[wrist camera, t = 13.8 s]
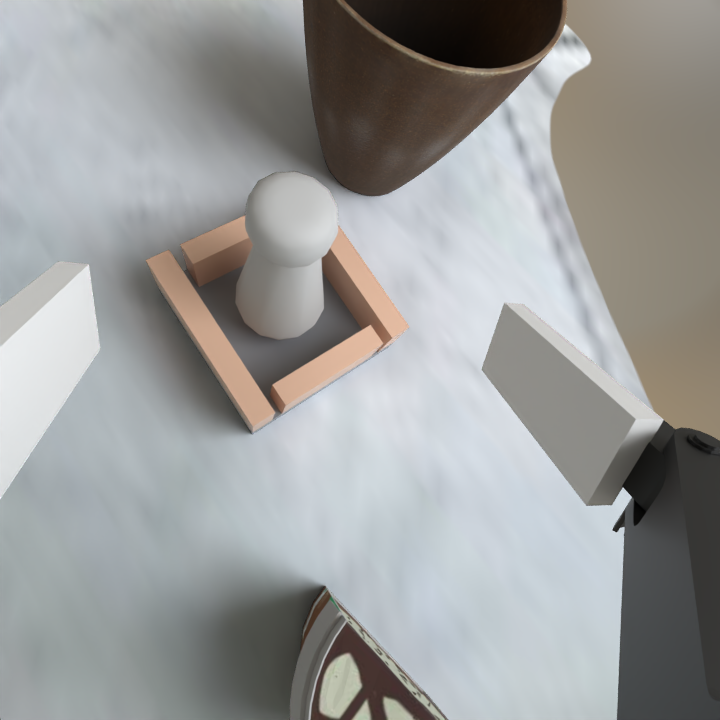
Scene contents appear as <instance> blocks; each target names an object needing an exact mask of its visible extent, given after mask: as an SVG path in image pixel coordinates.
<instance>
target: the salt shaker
mask: <svg viewBox="0 0 720 720" xmlns="http://www.w3.org/2000/svg"><path fill="white" fill-rule="evenodd" d="M245 228H246V232H247V234H248V236H249V238H250V240H251V242H252V244H253V246H252V249H251V251H250V253H249V256H248V258H247V260H246V263H245V265H244V267H243V270H242V272H241V274H240V277H239V279H238V282H237V284H236V300H235V303H236V305H237V307H238V310H239V312H240V314H241V316H242V318H243V320H244V323H246V324H247V325H248V326H249V327H250V328H252V329H253V330H254V331H255V332H257V333H258V334H259V335H261V336H265V337H269V338H272V339H276V340H283V339H290V338H296V337H299V336H300V335H302V334H303V333H305V332H306V331H307V330H309V329H310V328H312V327H313V326H314V325H315V324H316V322H317V320H318V318H319V317H320V315H321V313H322V311H323V309H324V293H323V280H322V259H321V258H322V257H323V256H325V255H326V254H327V252H328V250H329V249H330V247H331V245H332V243H333V242H334V240H335V238H336V236H337V234H338V206H337V204H336V202H335V200H334V198H333V196H332V194H331V192H330V190H329V189H327V188H326V187H325V186H324V185H323V184H321V183H320V182H319V181H318V180H316V179H315V178H314V177H311V176H308V175H305V174H302V173H299V172H296V171H289V172H275V173H273V174H271V175H269V176H267V177H265V178H263V179H261V180H259V181H258V182H257V184H256V185H255V187H254V188H253V190H252V192H251V193H250V195H249V196H248V200H247V203H246V214H245Z"/></svg>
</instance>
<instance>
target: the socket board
mask: <svg viewBox="0 0 720 720" xmlns="http://www.w3.org/2000/svg"><path fill="white" fill-rule="evenodd" d="M180 245H181V249H182V252H183V256H184V259H185V262H186V266H187V269H188V270H186V271H184V272H183V270H182V269H181V267H180V266H179V264H178V263H177V261H176V260H175V258H174V257H173V255H172V254H171V252H170V251H169V250H167V251H165V252H163V253H160V254H158V255H156V256H154V257H151V258H149V259H147V260H146V262H147V264H148V266H149V268H150V271H151V273H152V275H153V277H154V279H155V281H156V283H157V285H158V288H159V290H160V292H161V293H162V295H163V296H164V298H165V299H166V301H167V303H168V304H169V306H170V307H171V309H172V310H173V312H174V313H175V315H176V316H177V318H178V320H179V321H180V323H181V324H182V326H183V327H184V329H185V330H186V332H187V334H188V335H189V337H190V338H191V340H192V341H193V343H194V344H195V346H196V348H197V349H198V351H199V352H200V354H201V355H202V357H203V358H204V360H205V362H206V363H207V365H208V366H209V368H210V369H211V371H212V372H213V374H214V375H215V377H216V379H217V380H218V382H219V383H220V385H221V386H222V388H223V389H224V391H225V393H226V394H227V396H228V397H229V399H230V400H231V402H232V403H233V405H234V407H235V408H236V410H237V411H238V413H239V414H240V416H241V417H242V419H243V420H244V422H245V424H246V425H247V427H248V428H249V430H250V431H251V433H252V434H254V433H255V432H257V431H259V430H260V429H262V428H263V427H265V426H266V425H268V424H269V423H271V422H273V421H274V420H276V419H277V418H279V417H280V416H282V415H283V414H285V413H287V412H288V411H290V410H291V409H293V408H294V407H296V406H297V405H299V404H301V403H302V402H304V401H305V400H307V399H308V398H310V397H311V396H313V395H315V394H316V393H318V392H319V391H321V390H322V389H324V388H326V387H327V386H329V385H330V384H332V383H333V382H335V381H336V380H338V379H340V378H341V377H343V376H344V375H346V374H347V373H349V372H350V371H352V370H354V369H355V368H357V367H358V366H360V365H361V364H363V363H364V362H366V361H368V360H369V359H371V358H372V357H374V356H375V355H377V354H378V353H380V352H382V351H383V350H385V349H386V348H388V347H389V346H390V345H391V344H392V343H393V342H394V341H395V340H397V339H398V338H399V337H400V336H401V335H402V334H403V333H404V332H405V331H406V330H407V329H408V328H409V326H408V324H407V323H406V321H405V320H404V318H403V317H402V315H401V314H400V313H399V311H398V310H397V308H396V307H395V305H394V304H393V303H392V301H391V300H390V298H389V297H388V295H387V294H386V293H385V291H384V290H383V288H382V287H381V285H380V284H379V282H378V281H377V280H376V278H375V277H374V275H373V274H372V272H371V271H370V270H369V268H368V267H367V265H366V264H365V262H364V261H363V260H362V258H361V257H360V255H359V254H358V252H357V251H356V249H355V248H354V247H353V245H352V244H351V242H350V241H349V239H348V238H347V237H346V235H345V234H344V232H343V231H342V229H341V228H340V227H339V225H338V234H337V236H336V238H335V240H334V242H333V243H332V245H331V247H330V249H329V250H328V252H327V254H326V255H325V256H323V257H322V258H321V259H322V280H323V293H324V309H323V311H322V313H321V315H320V317H319V318H318V320H317V322H316V324H315V325H314V326H313V327H312V328H310V329H309V330H307V331H306V332H305V333H303V334H302V335H300V336H299V337H296V338H290V339H283V340H276V339H272V338H269V337H265V336H261V335H259V334H258V333H257V332H255V331H254V330H253V329H252V328H250V327H249V326H248V325H247V324H246V323H244V320H243V318H242V316H241V314H240V312H239V310H238V307H237V305H236V303H235V300H236V284H237V282H238V279H239V277H240V274H241V272H242V270H243V267H244V265H245V263H246V260H247V258H248V256H249V253H250V251H251V249H252V246H253V244H252V242H251V240H250V238H249V236H248V234H247V232H246V228H245V216H242V217H240V218H238V219H236V220H233V221H231V222H229V223H227V224H225V225H222V226H220V227H218V228H216V229H214V230H211V231H209V232H207V233H205V234H202V235H200V236H198V237H196V238H194V239H191V240H189V241H187V242H185V243H182V244H180Z"/></svg>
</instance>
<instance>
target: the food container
mask: <svg viewBox="0 0 720 720" xmlns="http://www.w3.org/2000/svg"><path fill="white" fill-rule="evenodd" d="M290 720H448V719H447V717H446V716H445V715H444V714H443V713H442V712H441V710H440V709H439V708H438V707H437V706H436V704H435V703H434V702H433V701H432V700H431V699H430V697H429V696H428V695H427V694H426V693H425V692H424V690H423V689H422V688H421V687H420V686H419V685H418V684H417V683H416V682H415V681H414V680H413V679H412V678H411V677H410V676H409V674H408V673H407V672H406V671H405V670H404V669H403V668H402V667H401V666H400V665H399V664H398V663H397V662H396V661H395V660H394V659H393V657H392V656H391V655H390V654H389V653H388V652H387V651H386V650H385V649H384V648H383V647H382V646H381V645H380V644H379V643H378V641H377V640H376V639H375V638H374V637H373V636H372V635H371V634H370V633H369V632H368V631H367V630H366V629H365V628H364V627H363V626H362V624H361V623H360V622H359V621H358V620H357V619H356V618H355V617H354V616H353V615H352V614H351V613H350V612H349V611H348V610H347V608H346V607H345V606H344V605H343V604H342V603H341V602H340V601H339V600H338V599H337V598H336V597H335V596H334V595H333V594H332V592H331V591H330V590H329V589H328V588H327V587H326V586H325V587H324V588H323V589H322V591H321V592H320V593H319V595H318V596H317V597H316V599H315V600H314V602H313V604H312V606H311V609H310V611H309V614H308V616H307V619H306V621H305V623H304V626H303V632H302V640H301V648H300V655H299V658H298V661H297V665H296V669H295V674H294V678H293V682H292V689H291V700H290Z"/></svg>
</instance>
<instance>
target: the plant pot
mask: <svg viewBox="0 0 720 720" xmlns="http://www.w3.org/2000/svg"><path fill="white" fill-rule="evenodd" d="M303 11H304V31H305V46H306V57H307V67H308V75H309V84H310V91H311V98H312V104H313V110H314V115H315V121H316V126H317V130H318V135H319V139H320V143H321V147H322V151H323V154H324V158H325V161H326V164H327V166H328V168H329V170H330V172H331V173H332V175H333V176H334V177H335V178H336V179H337V180H338V181H339V182H340V183H341V184H342V185H343V186H345V187H346V188H348V189H350V190H352V191H354V192H356V193H359V194H363V195H368V196H380V195H385V194H388V193H390V192H392V191H394V190H396V189H398V188H399V187H401V186H403V185H404V184H406V183H407V182H409V181H411V180H412V179H414V178H415V177H417V176H418V175H419V174H421V173H422V172H424V171H425V170H427V169H428V168H429V167H431V166H432V165H433V164H435V163H436V162H437V161H438V160H440V159H441V158H442V157H444V156H445V155H446V154H447V153H448V152H450V151H451V150H452V149H453V148H454V147H455V146H457V145H458V144H459V143H460V142H461V141H462V140H464V139H465V138H466V137H467V136H468V135H469V134H470V133H471V132H472V131H473V130H474V129H476V128H477V127H478V126H479V125H480V124H481V123H482V122H483V121H484V120H485V119H486V118H487V117H488V116H489V115H490V114H492V112H493V111H494V110H495V109H496V108H497V107H498V106H499V105H500V104H501V103H502V102H503V101H504V100H505V99H506V98H507V97H508V96H509V95H510V94H511V93H512V92H513V91H514V90H515V89H516V88H517V87H518V86H519V84H520V83H521V82H522V81H523V80H524V79H525V78H526V77H527V76H528V75H529V74H530V73H531V72H532V70H533V69H534V68H535V67H536V66H537V65H538V64H539V63H540V62H541V61H542V59H543V58H544V57H545V56H546V55H547V54H548V53H549V52H550V51H551V49H552V48H553V47H554V46H555V44H556V43H557V41H558V40H559V38H560V36H561V34H562V31H563V28H564V25H565V21H566V16H567V0H303Z"/></svg>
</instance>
